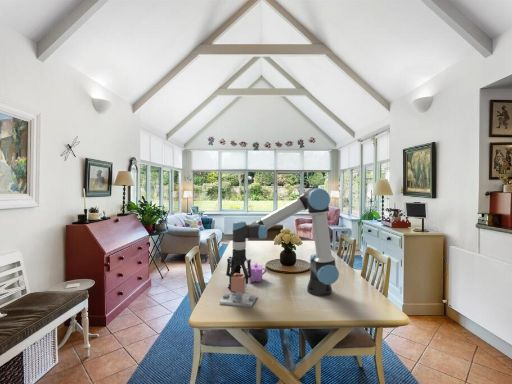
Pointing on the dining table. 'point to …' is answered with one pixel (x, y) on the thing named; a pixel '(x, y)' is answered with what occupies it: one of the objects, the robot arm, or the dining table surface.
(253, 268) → the teapot
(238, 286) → the box
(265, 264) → the dining table surface
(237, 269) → the chess piece
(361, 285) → the dining table surface
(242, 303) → the stand
